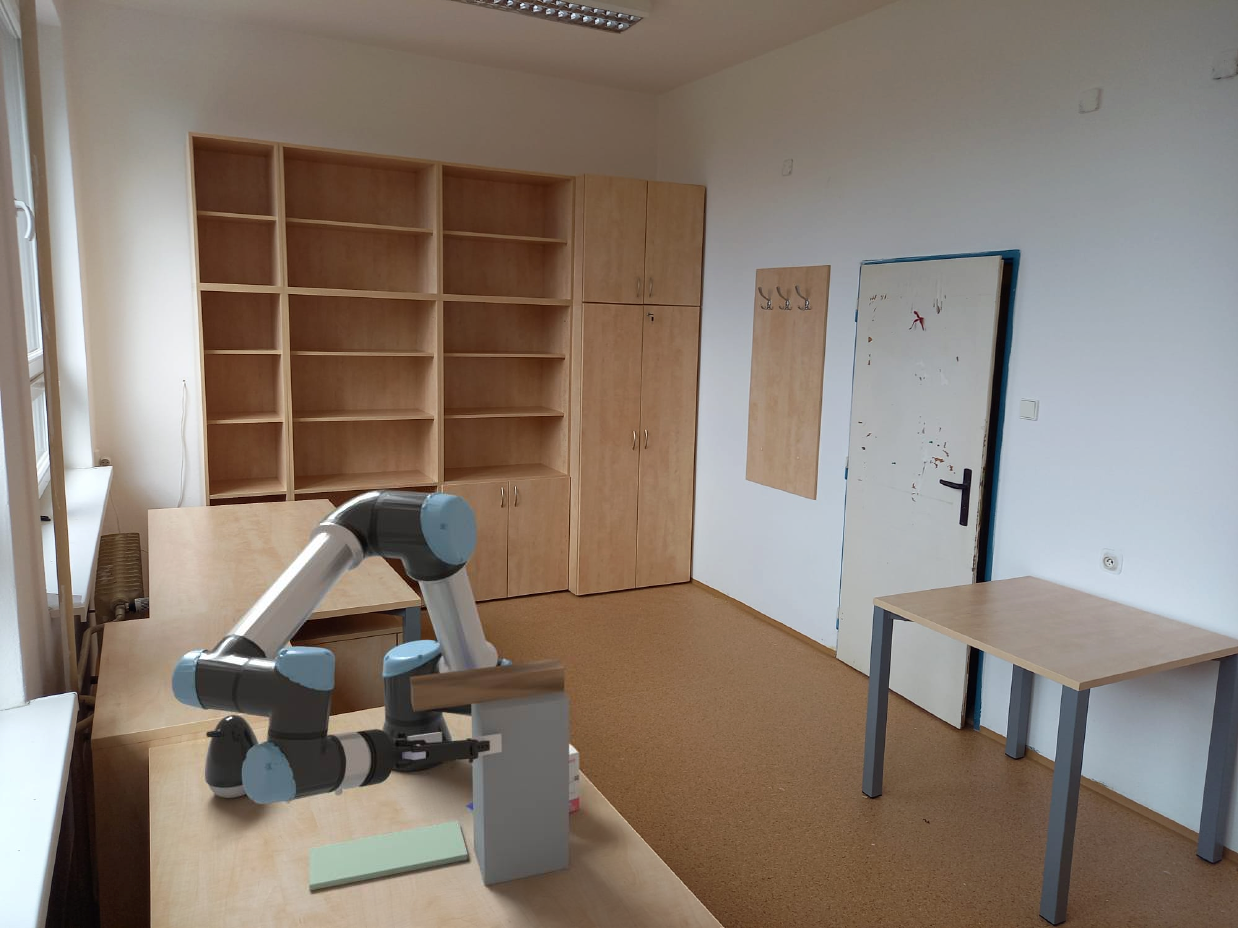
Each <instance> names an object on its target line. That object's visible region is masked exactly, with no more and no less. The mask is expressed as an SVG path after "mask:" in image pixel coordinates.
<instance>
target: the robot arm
mask: <svg viewBox="0 0 1238 928" xmlns="http://www.w3.org/2000/svg"><path fill="white" fill-rule="evenodd" d="M477 529H478V526H477V520H476V515H475V513H474V510H473V508H472V507H471V505H470V503H468V501H467V500H466V499H464V498H463V497H461V496H459V495H455V494H447V493H444V492H419V491H402V490H392V489H375V490H371V491H367V492H364V493H361V494H359V495H357V496H355V497H353V498H351V499H349V500H348V501H345V502H344V503H342V504H340V505H339V506H338V507H336V508H334V510H332V511H331V512H329V513H328V514H327V515H326V516H325V517H323V519H322V520H320V521H319V522H318V524H316V526H315V527H314V528H313V529H312V530H311V532H310V535H309V542H308V544H307V545H305V547H304V548H303V549H302V550H301V552H300V553H299V554H298V555H297V556H296V557H295V558H294V559H293V560H292V561H291V563H290V564H289V565H288V566H287V567H286V568H285V569H284V570H283V571H282V572H281V573H280V574H279V576H278V577H277V578H276V579H274V581H273V582H272V583H271V584H270V585H269V587H268V588H267V589H266V590H265V591H264V592H263V594H261V596H260V597H258V598H257V600H256V601H255V602H254V603H253V604H252V605H251V606H250V608H248V610H247V611H246V612H245V613H244V614H243V615H242V616H241V618H240V619H238V621H237V622H236V623H235V624H234V625H233V626H232V627H231V629H229V631H227V633H226V634H225V635H224V636H223V637H222V638H221V640H219V642H218V643H216V644H215V646H214V647H213V648H212V650H209V649H195V650H192V651H190V652H186V653H185V654H184V655H182V657H181V658H179V660H178V661H177V663H176V665H175V667H174V669H173V671H172V674H171V675H172V676H171V685H170V686H171V691H172V693H173V696H174V697H175V698H174V699H176V700H177V701H178V702H179V703H181V704H183V705H185V706H189V707H194V708H198V709H202V710H215V711H222V712H231V713H237V714H244V715H245V714H246V715H250V716H258V717H264V718H268V728H267V735H266V741H262V742H261V743H259V744H257V745H255V746H253V747H252V748H251V749H250V750H249V751H248V752H247V754H246V759H245V760H244V762H243V766H242V782H243V786H244V789H245V792H246V794H245V795H247V797H248V798H249V800H251V801H253V802H254V803H255V804H260V805H263V804H265V805H266V804H274V803H281V802H285V803H289V802H292V801H294V800H300V799H304V798H309V797H314V796H318V795H324V794H329V793H333V792H334V795H335V796H339V797H340V796H341V795H342V794H343V790H350V789H354V788H358V787H359V788H361V787H362V788H363V787H367V786H368V787H369V786H373V785H378V784H382V783H384V782H385V781H386V780H387V779H388V778H389V777H390V775H391V773H392V771H393V770H395V771H400V772H401V771H402V772H412V771H413V772H414V771H415V772H416V771H422V770H426V769H430V768H432V767H435V766H438V765H440V764H441V763H443V762H450V761H451V762H452V761H453V762H454V761H462V760H468V763H470V764H472V762H473V759H477V758H478V756H481V755H487V754H493V753H498V752H502V741H501V734H492V735H486V736H479V737H472V736H471V737H468V738H466V739H461V740H460V739H459V740H452V734H451V732H450V730H449V727H448V725H447V721H446V720H445V719H446V718H445V717H444V713H445V714H452V715H459V716H465V717H471V718H472V709H471V704H467V705H460V706H453V707H445V708H438V709H431V710H424V711H416V712H414V711H413V707H412V703H411V683H410V677H414V676H422V675H430V674H438V673H446V672H454V671H462V670H470V669H478V668H486V667H494V666H502V665H510V664H513V663H512V661H511V660H509V659H506V658H503V659H501V658H499V655H498V652H497V649H496V648H495V646H494V645H493V644H492V643H491V642H490V641H487V640H486V636H485V633H484V630H483V626H482V623H481V619H480V615H479V613H478V607H477V603H476V601H475V597H474V593H473V589H472V586H471V582H470V579H469V576H468V572H467V569H466V567H467V564H468V562H469V561H470V559H471V558H472V556H473V554H474V552H475V549H476V546H477V542H478V541H477V539H478V535H477V532H476V531H477ZM374 557H381V558H391V559H400V560H401V562H402V565H403V567H404V570H405V572H406V575H407V576H409V578H411V579H412V580H414V581H417V582H418V584H419V587H420V591H421V593H422V596H423V600H424V603H425V606H426V609H427V611H428V616H429V618H430V621H431V624H432V627H433V631H434V633H435V636H436V639H437V641H436V640H431V639H421V640H414V641H409V642H405V643H403V644H399V645H397V646H395V647H394V648H392V649H391V650H389V651H388V652H387V653H386V654H385V656H384V657H383V666H382V674H381V675H382V679H383V698H384V699H383V701H384V723H383V726H382V729H379V728H375V729H366V730H358V731H347V732H339V733H332V734H328V731H329V723H330V714H331V706H332V698H333V692H334V691H333V690H334V687H335V686H336V685H335V684H336V683H335V668H336V666H335V665H336V657H335V656H336V655H334V652H332V651H331V650H329V649H327V648H323V647H317V646H316V647H315V646H287V644H288V643H289V642H290V641H291V639H292V638H293V637H294V636H295V635H296V634H297V633H298V631H299V630H300V629H301V627H302V626H303V625H304V623H305V622H307V620H308V619H309V618H310V616H312V614H313V613H314V611H315V610H316V609H317V608H318V606H319V605H320V604H321V603H322V602H323V600H324V599H325V598H326V596H328V595H329V593H330V592H331V590H332V589H333V588H334V587H335V586H336V585H337V583H338V582H339V581H340V579H341V578H342V577H343V576H344V575H345V573H347V571H351V570H352V571H353V570H355V569H357V568H358V567H359V566H360V565H361V563H362V562H363V561H364V560H365V559H369V558H374Z"/></svg>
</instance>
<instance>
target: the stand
mask: <svg viewBox="0 0 1238 928" xmlns="http://www.w3.org/2000/svg"><path fill="white" fill-rule="evenodd" d="M471 709H472V717H471V738H472V737H479V736H486V735H492V734H501V741H502V752H498V753H493V754H487V755H481V756H478V758H477V759H473V762H472V763H471V764H472V802H473V813H472V814H473V815H472V816H473V818H472V819H473V820H472V821H473V850H474V851H473V852H474V854H475V858H476V860H477V865H478V867H479V871H480V875H481V877H482V880H483V885H484V886H490V885H493V884H499V883H503V882H509V881H514V880H518V879H523V878H528V877H531V876H537V875H542V874H547V873H551V872H556V871H562V870H566V869H569V865H570V864H569V863H570V860H569V859H570V858H569V855H570V850H569V849H570V848H569V847H570V845H569V844H570V842H569V841H570V839H569V837H570V833H569V832H570V820H569V819H570V812H569V743H570V697H569V696H568V694H567V693H566V691H565V690H564V691H561V692H554V693H547V694H540V695H532V696H525V697H518V698H511V699H503V700H496V701H489V702H482V703H474V704H471Z"/></svg>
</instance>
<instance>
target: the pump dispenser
mask: <svg viewBox="0 0 1238 928" xmlns="http://www.w3.org/2000/svg"><path fill="white" fill-rule="evenodd" d="M205 735H206V737H207V738H210V739H209V744H208V746H207V747H208V748H207V753H206V757H205V765H204V767H205V768H204V779H205V782H206V784H207V785H208V788H209V789H210V790H211V791H212V792H213V794H215V795H216V796H218V797H220V798H223V799H224V798H227V799H234V798H239V797H242V796H244V795H247V794H246V792H245V789H244V786H243V782H242V766H243V762H244V760H245V759H246V754H247V752H248V751H249V750H250V749H251V748H252V747H253V746H255V745H257V744H260V743H259V741H258V738H257V736H256V734H255V732H254V730H253V728H252V726H251V725H250V723H249V722H248V721H247V719H245V718H244V717H243V716H241V715H239V714H238V715H237V714H229V715H227V716H224V717H223V718H221V719H220V720H219V722H217V724H216V725H215V728H214V729H213V730H208V731H207V732H206V734H205Z"/></svg>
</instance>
